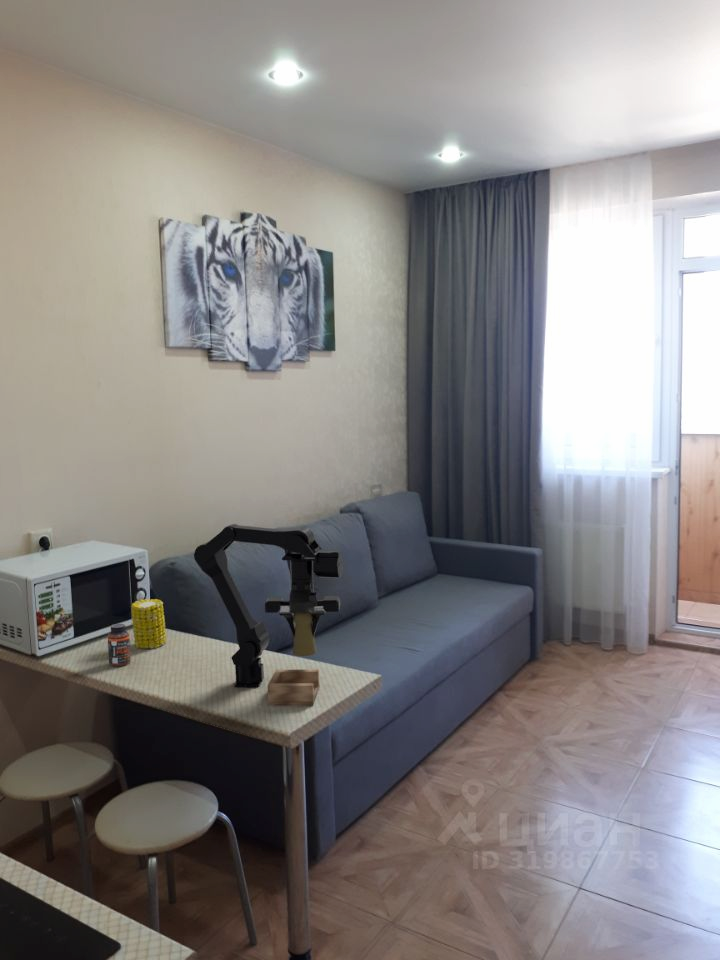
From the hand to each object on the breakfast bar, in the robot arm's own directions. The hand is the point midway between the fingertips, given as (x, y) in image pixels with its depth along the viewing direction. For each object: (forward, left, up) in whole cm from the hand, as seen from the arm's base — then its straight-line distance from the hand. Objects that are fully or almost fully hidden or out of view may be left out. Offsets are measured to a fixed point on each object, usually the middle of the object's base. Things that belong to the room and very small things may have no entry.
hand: (304, 636), depth 191 cm
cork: (0, 0, -4) cm, 4 cm away
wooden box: (-2, -7, -13) cm, 15 cm away
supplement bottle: (-56, +17, -13) cm, 60 cm away
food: (-53, +33, -13) cm, 64 cm away
